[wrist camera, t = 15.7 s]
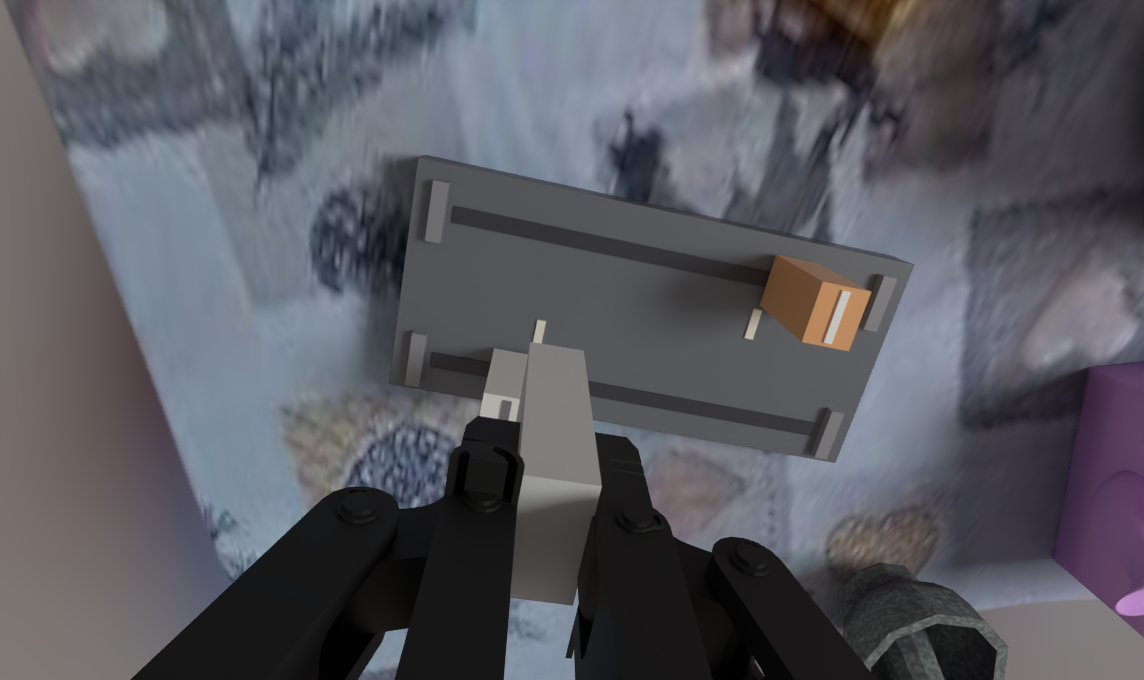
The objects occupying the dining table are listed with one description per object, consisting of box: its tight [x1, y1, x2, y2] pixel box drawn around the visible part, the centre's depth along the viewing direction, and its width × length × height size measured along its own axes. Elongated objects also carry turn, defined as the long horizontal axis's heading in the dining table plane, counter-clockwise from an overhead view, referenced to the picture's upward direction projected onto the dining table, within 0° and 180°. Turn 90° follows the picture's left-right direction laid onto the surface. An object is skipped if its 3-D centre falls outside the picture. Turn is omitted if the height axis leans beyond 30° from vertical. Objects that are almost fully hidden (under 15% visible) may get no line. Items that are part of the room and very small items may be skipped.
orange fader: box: [760, 254, 871, 351], centre depth 32 cm, size 3×2×6 cm
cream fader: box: [480, 348, 528, 422], centre depth 33 cm, size 3×2×6 cm
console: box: [389, 155, 914, 463], centre depth 37 cm, size 13×28×3 cm, turn 78°
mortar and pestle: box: [838, 563, 1008, 680], centre depth 41 cm, size 11×9×12 cm
